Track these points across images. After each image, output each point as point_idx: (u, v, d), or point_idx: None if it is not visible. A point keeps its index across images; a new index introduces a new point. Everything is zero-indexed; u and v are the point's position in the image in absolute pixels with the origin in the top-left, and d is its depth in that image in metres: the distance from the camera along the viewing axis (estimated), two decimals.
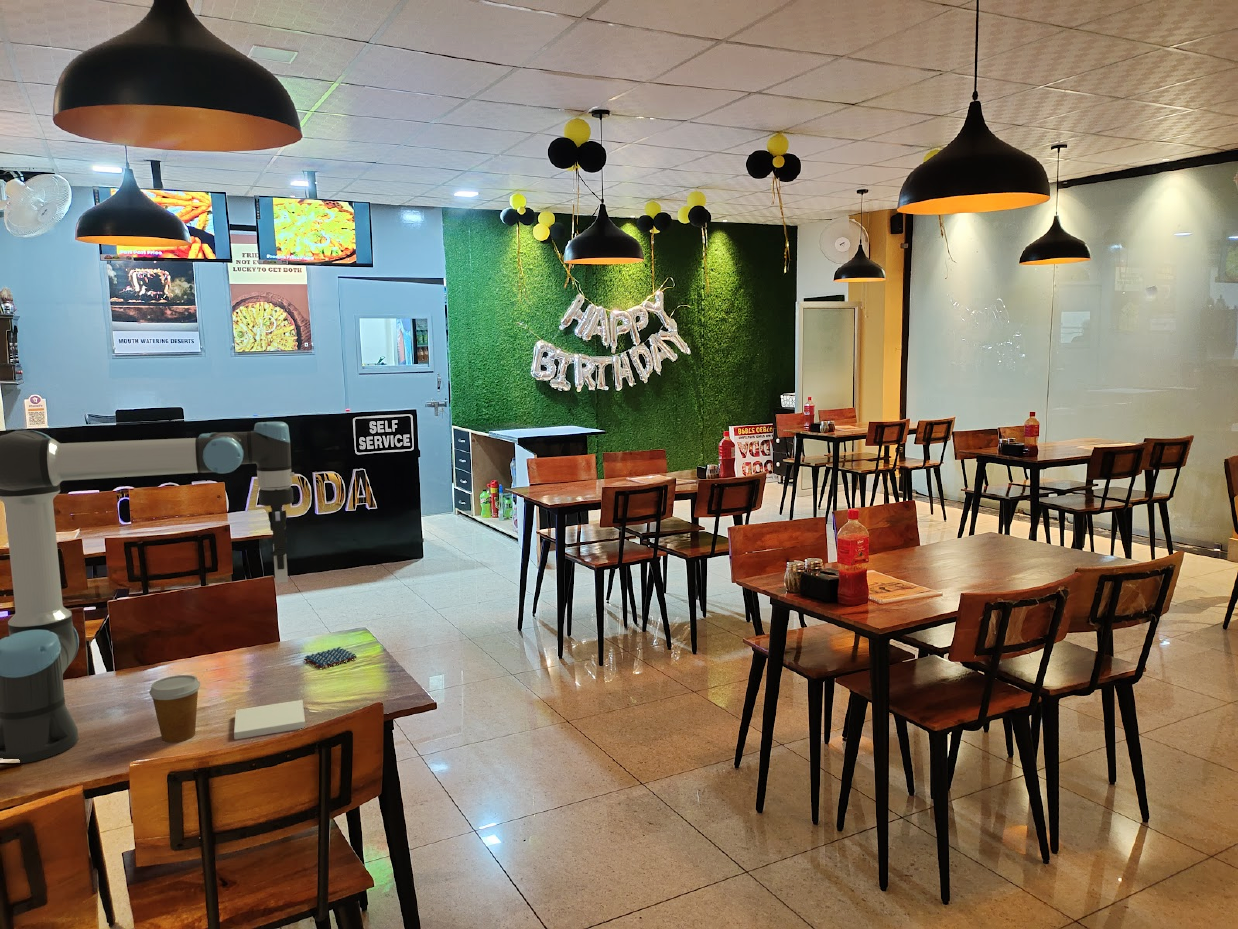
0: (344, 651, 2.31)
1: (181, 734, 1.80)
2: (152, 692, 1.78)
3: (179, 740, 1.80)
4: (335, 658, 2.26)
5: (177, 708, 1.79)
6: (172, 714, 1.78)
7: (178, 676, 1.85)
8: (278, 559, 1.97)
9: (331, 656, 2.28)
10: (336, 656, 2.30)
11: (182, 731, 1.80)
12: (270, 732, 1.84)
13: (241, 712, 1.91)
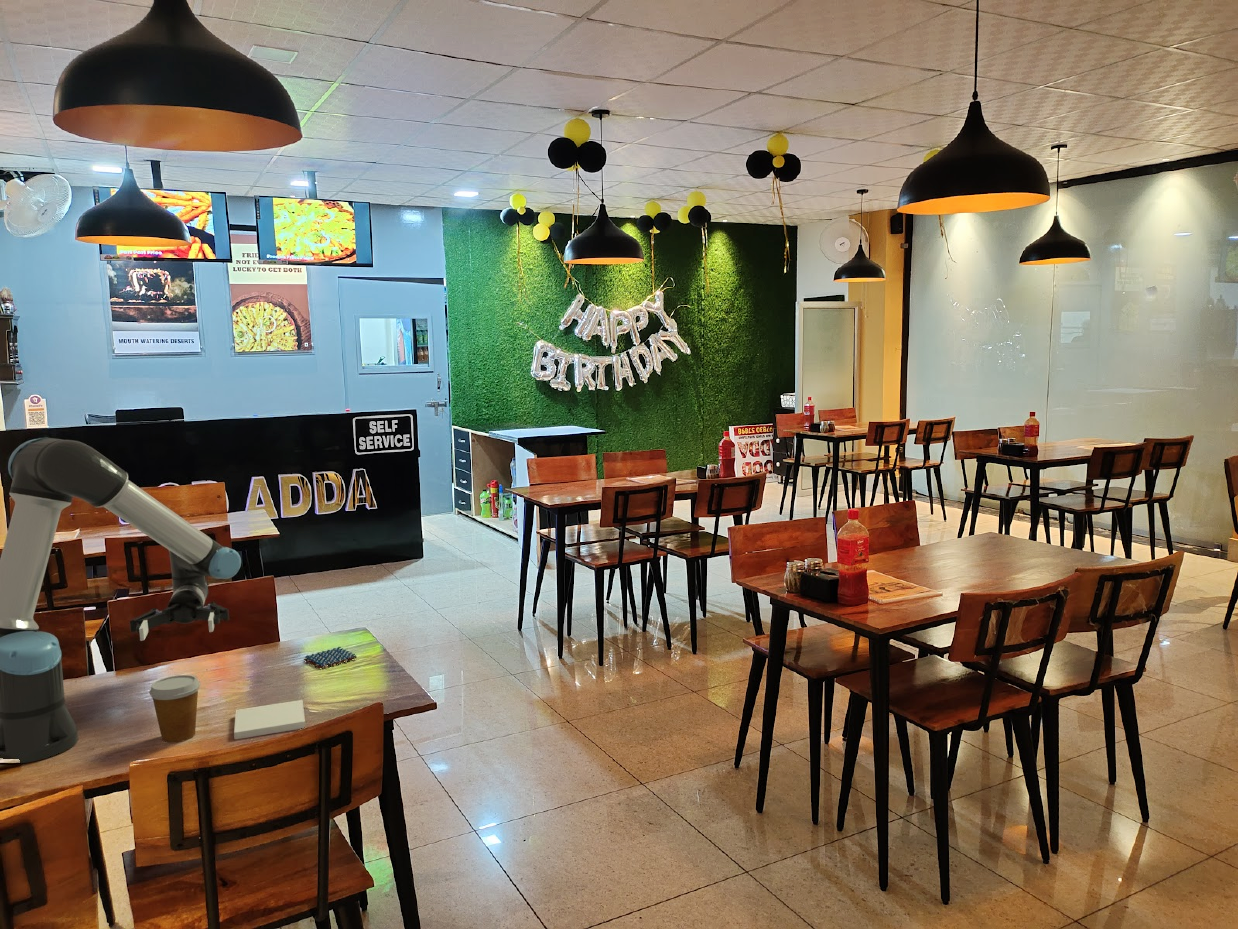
0: (344, 651, 2.31)
1: (181, 734, 1.80)
2: (152, 692, 1.78)
3: (179, 740, 1.80)
4: (335, 658, 2.26)
5: (177, 708, 1.79)
6: (172, 714, 1.78)
7: (178, 676, 1.85)
8: (219, 616, 1.98)
9: (331, 656, 2.28)
10: (336, 656, 2.30)
11: (182, 731, 1.80)
12: (270, 732, 1.84)
13: (241, 712, 1.91)
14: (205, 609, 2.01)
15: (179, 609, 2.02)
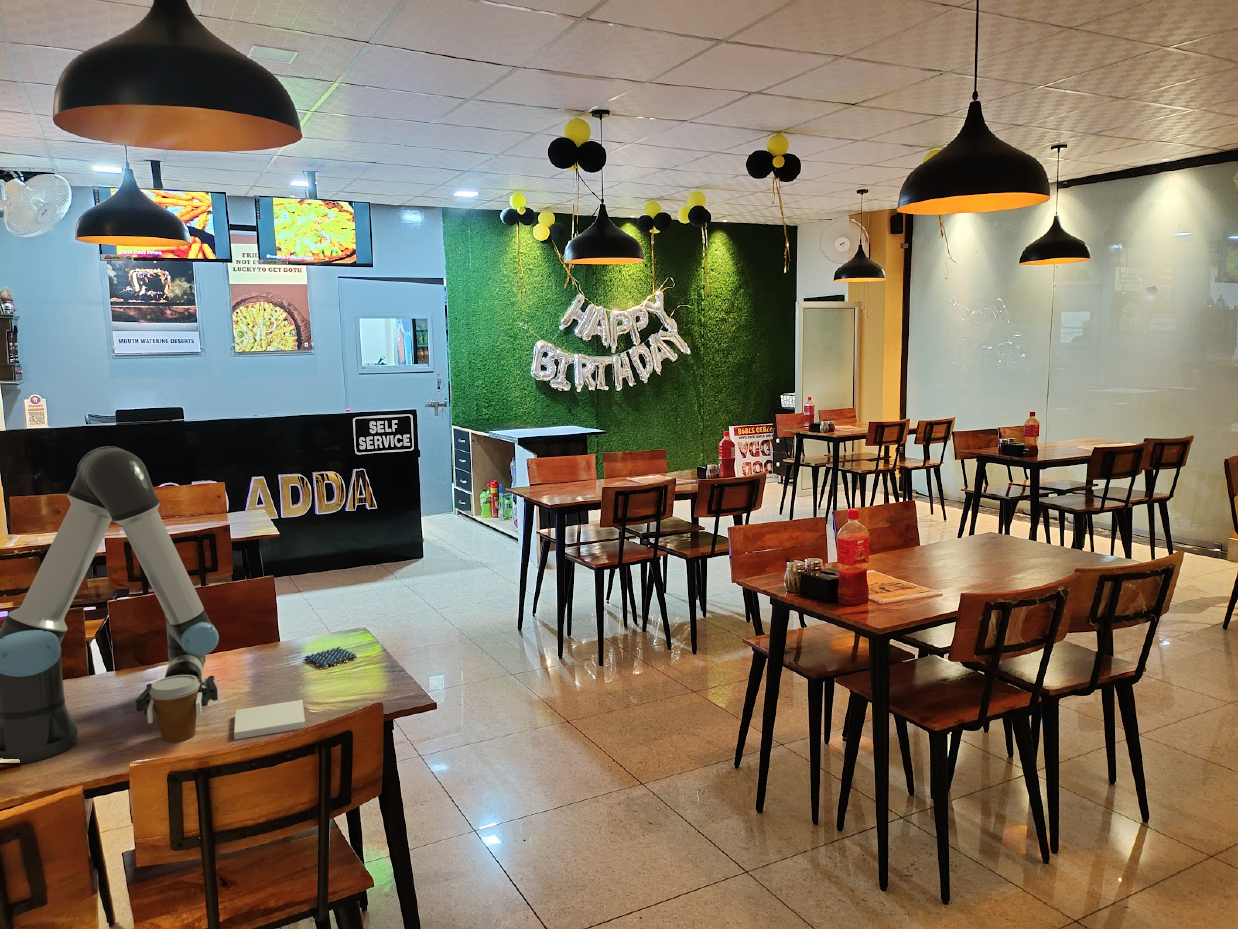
0: (344, 651, 2.31)
1: (181, 733, 1.80)
2: (152, 692, 1.78)
3: (179, 740, 1.80)
4: (335, 658, 2.26)
5: (177, 708, 1.79)
6: (172, 714, 1.78)
7: (178, 676, 1.85)
8: (207, 696, 1.85)
9: (331, 656, 2.28)
10: (336, 656, 2.30)
11: (182, 731, 1.80)
12: (270, 732, 1.84)
13: (241, 712, 1.91)
14: None
15: None
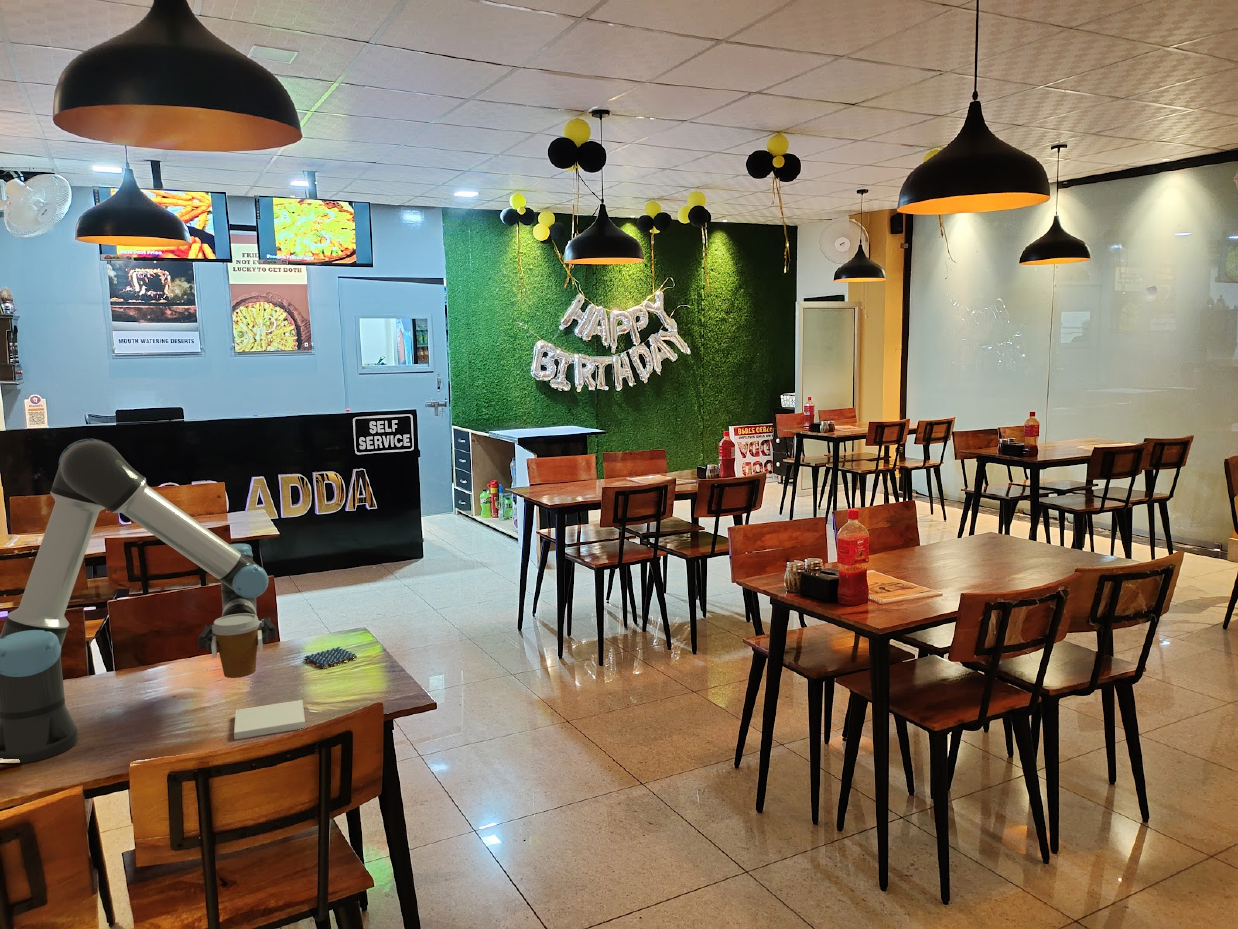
0: (344, 651, 2.31)
1: (243, 669, 1.84)
2: (215, 628, 1.82)
3: (241, 675, 1.84)
4: (335, 658, 2.26)
5: (240, 643, 1.82)
6: (235, 650, 1.82)
7: (238, 614, 1.89)
8: (267, 634, 1.89)
9: (331, 656, 2.28)
10: None
11: (244, 666, 1.84)
12: (270, 732, 1.84)
13: (241, 712, 1.91)
14: None
15: None
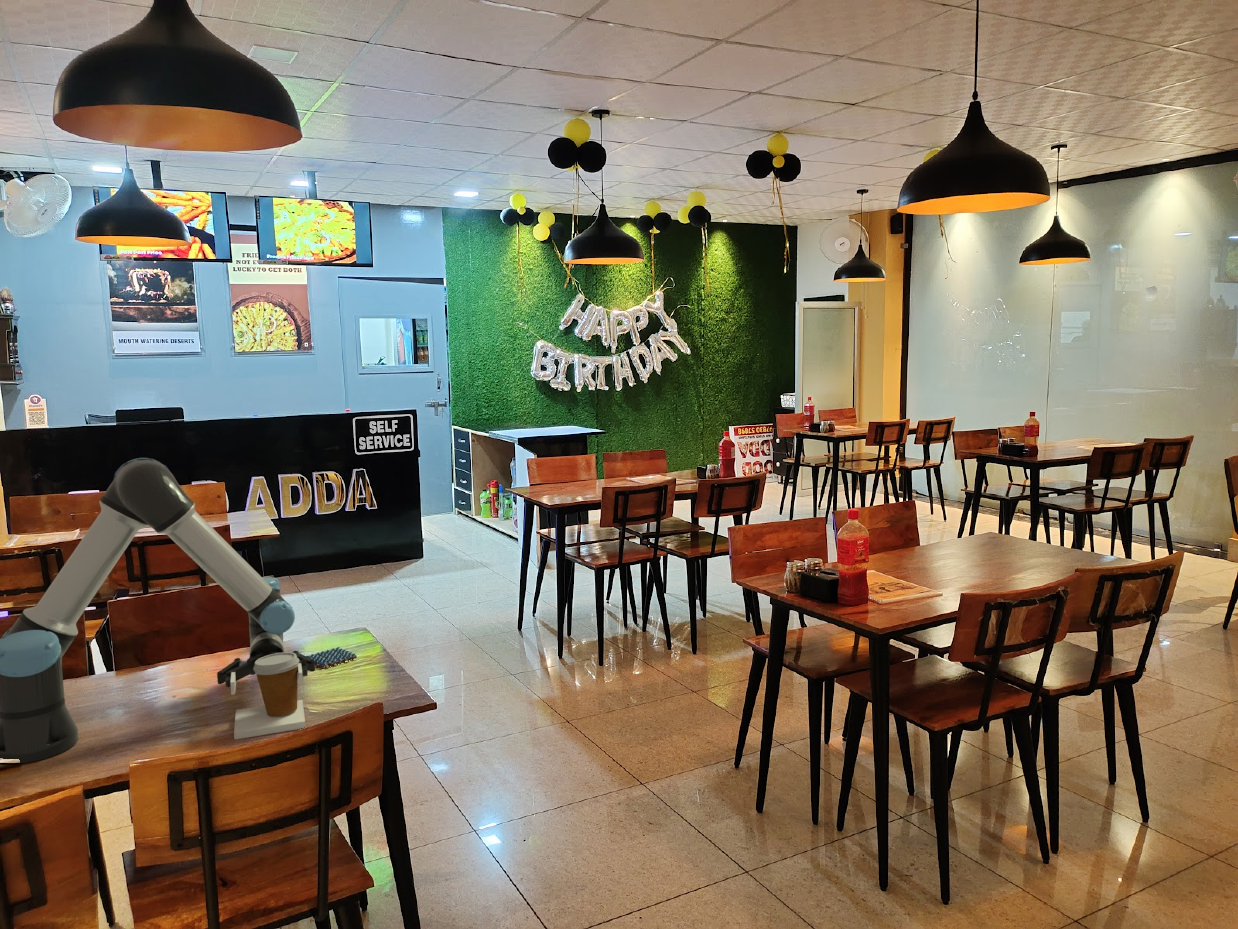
0: (344, 651, 2.31)
1: (285, 707, 1.88)
2: (256, 668, 1.87)
3: (284, 713, 1.88)
4: (335, 658, 2.26)
5: (281, 682, 1.87)
6: (277, 688, 1.87)
7: (277, 654, 1.94)
8: (307, 667, 1.94)
9: (331, 656, 2.28)
10: None
11: (287, 704, 1.89)
12: (270, 732, 1.84)
13: (241, 712, 1.91)
14: None
15: None
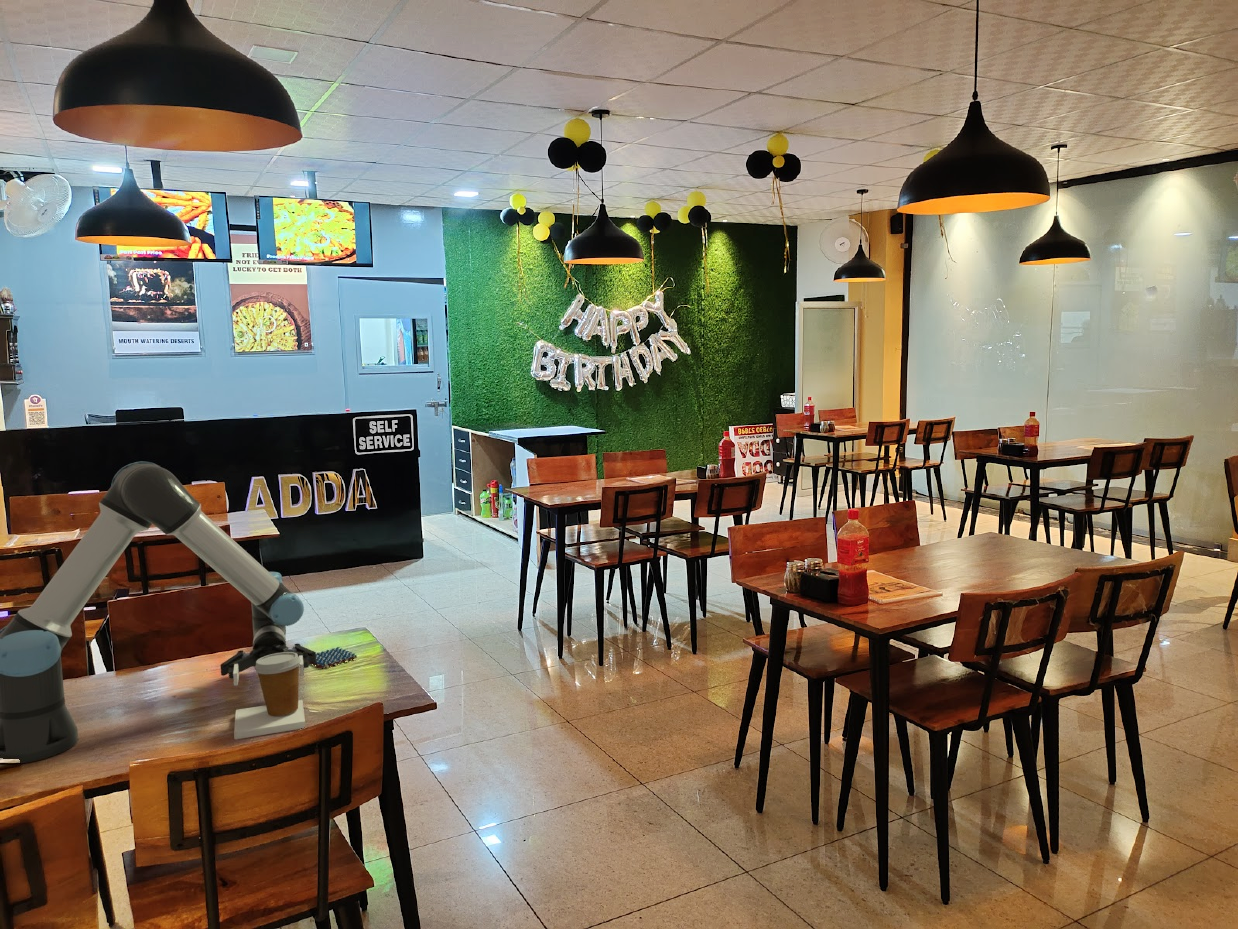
0: (343, 651, 2.31)
1: (287, 706, 1.89)
2: (258, 668, 1.87)
3: (286, 713, 1.89)
4: (335, 658, 2.26)
5: (283, 681, 1.87)
6: (279, 688, 1.87)
7: (277, 654, 1.94)
8: (308, 659, 1.98)
9: (331, 656, 2.28)
10: None
11: (288, 703, 1.89)
12: (270, 732, 1.84)
13: (241, 712, 1.91)
14: None
15: (266, 651, 2.02)
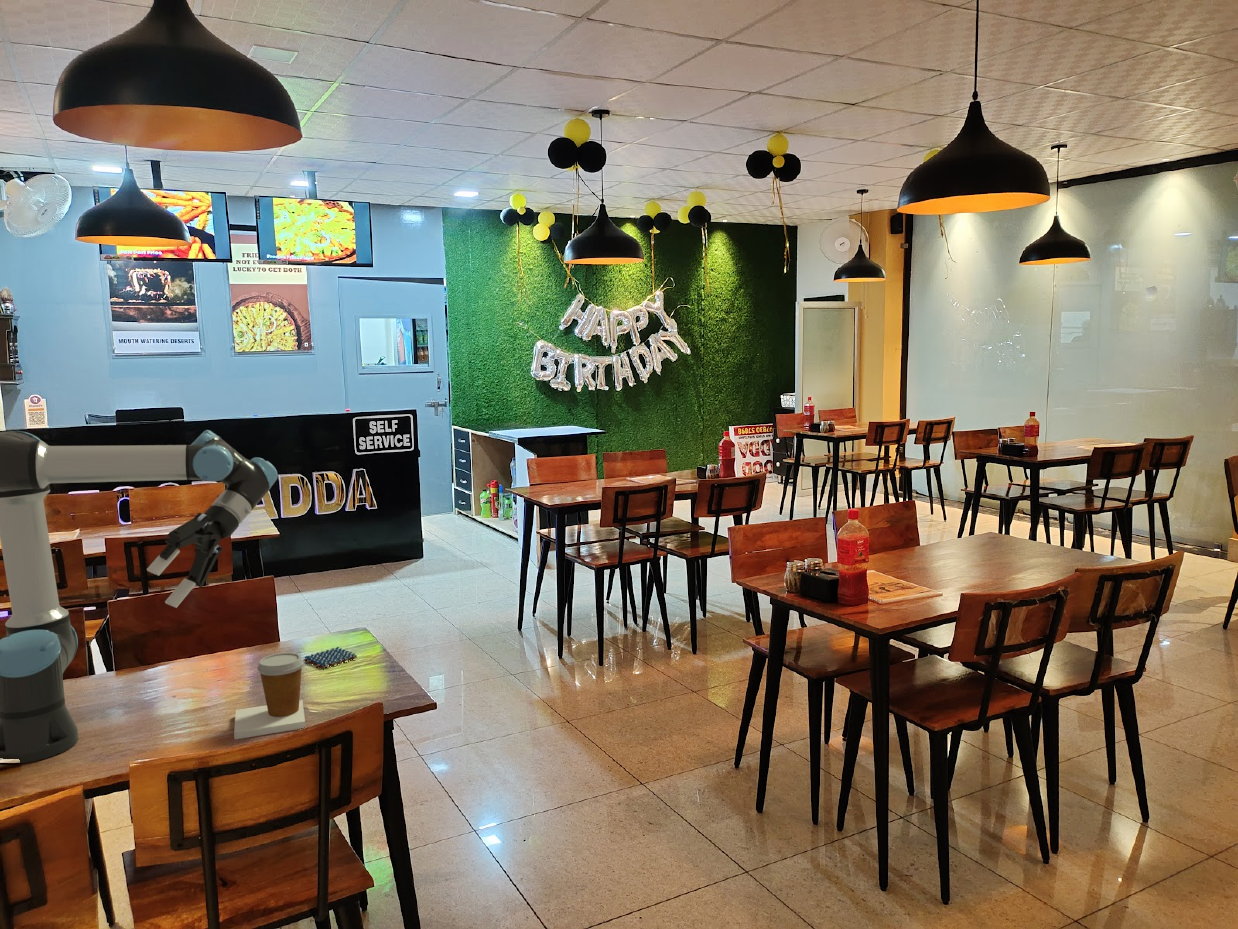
0: (343, 651, 2.31)
1: (288, 708, 1.89)
2: (262, 669, 1.87)
3: (287, 714, 1.89)
4: (336, 658, 2.26)
5: (286, 683, 1.87)
6: (282, 689, 1.87)
7: (280, 654, 1.94)
8: (168, 546, 1.80)
9: (331, 656, 2.28)
10: None
11: (290, 705, 1.89)
12: (270, 732, 1.84)
13: (241, 712, 1.91)
14: None
15: None
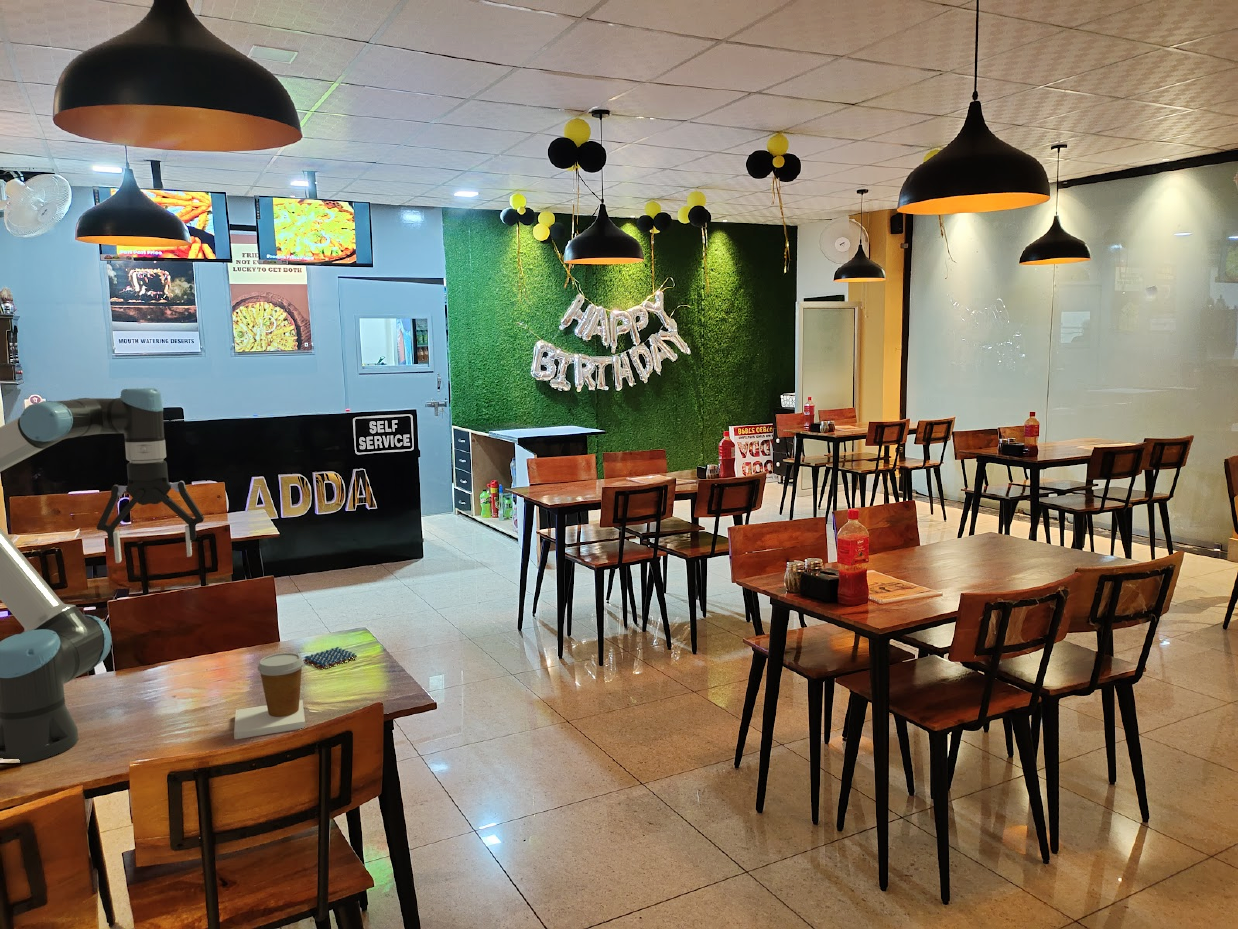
0: (343, 651, 2.31)
1: (288, 708, 1.89)
2: (262, 669, 1.87)
3: (287, 714, 1.89)
4: (336, 658, 2.26)
5: (287, 683, 1.87)
6: (282, 689, 1.87)
7: (280, 654, 1.94)
8: None
9: (331, 656, 2.28)
10: None
11: (290, 705, 1.89)
12: (270, 732, 1.84)
13: (241, 712, 1.91)
14: None
15: None
